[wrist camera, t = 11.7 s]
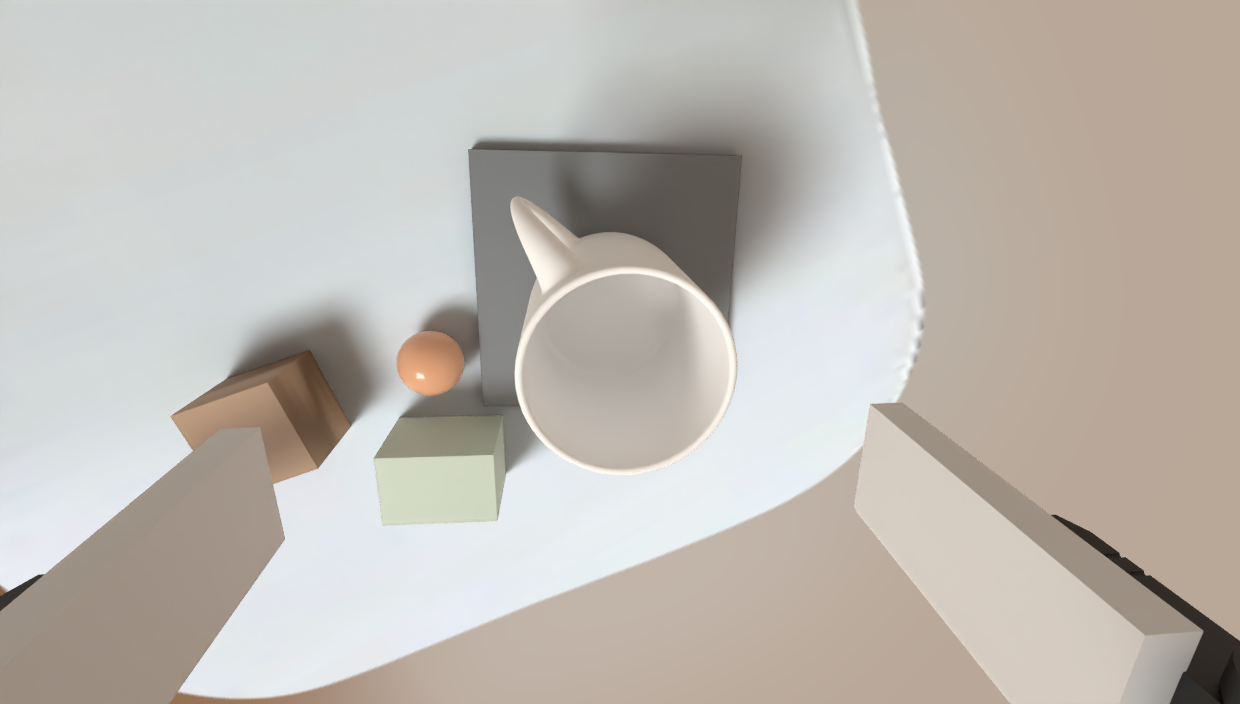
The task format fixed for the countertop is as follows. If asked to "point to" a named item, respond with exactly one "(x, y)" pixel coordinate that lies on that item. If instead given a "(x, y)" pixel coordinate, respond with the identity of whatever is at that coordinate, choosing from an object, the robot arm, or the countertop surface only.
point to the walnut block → (273, 414)
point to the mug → (617, 350)
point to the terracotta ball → (430, 363)
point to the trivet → (593, 228)
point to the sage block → (441, 470)
